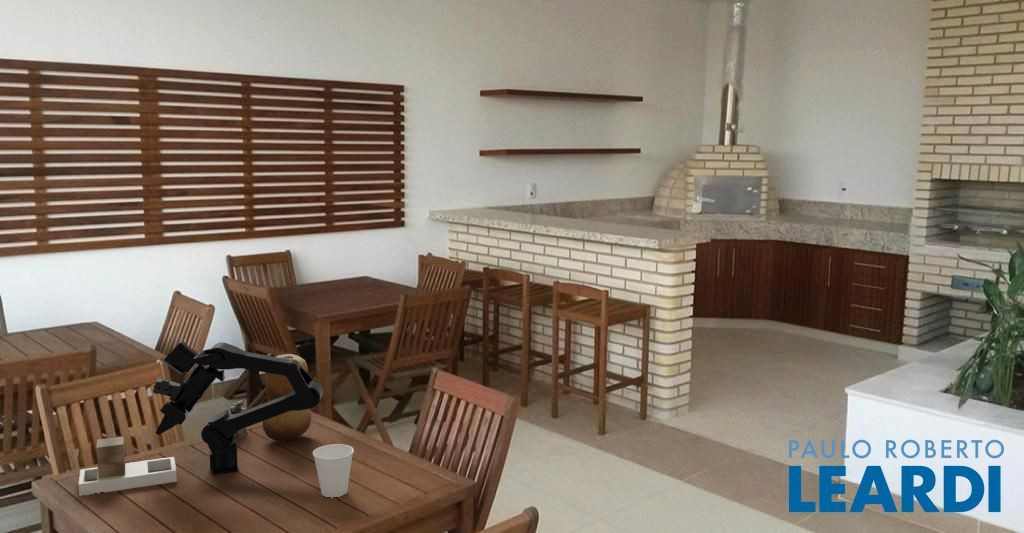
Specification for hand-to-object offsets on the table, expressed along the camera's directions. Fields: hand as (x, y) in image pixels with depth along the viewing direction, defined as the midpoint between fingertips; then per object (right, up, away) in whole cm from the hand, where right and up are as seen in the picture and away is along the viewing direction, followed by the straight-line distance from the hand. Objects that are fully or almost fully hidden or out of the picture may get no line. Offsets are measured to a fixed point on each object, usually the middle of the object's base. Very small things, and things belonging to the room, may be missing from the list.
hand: (157, 433), depth 212 cm
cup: (+47, -13, -8) cm, 50 cm away
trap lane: (-6, -12, -2) cm, 13 cm away
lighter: (+10, -7, +31) cm, 33 cm away
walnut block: (-10, -9, -4) cm, 14 cm away
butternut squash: (+26, -8, +28) cm, 39 cm away
